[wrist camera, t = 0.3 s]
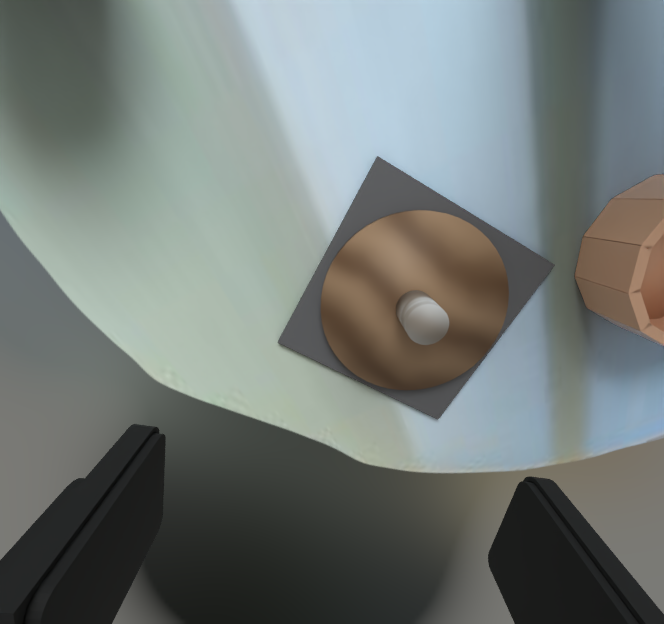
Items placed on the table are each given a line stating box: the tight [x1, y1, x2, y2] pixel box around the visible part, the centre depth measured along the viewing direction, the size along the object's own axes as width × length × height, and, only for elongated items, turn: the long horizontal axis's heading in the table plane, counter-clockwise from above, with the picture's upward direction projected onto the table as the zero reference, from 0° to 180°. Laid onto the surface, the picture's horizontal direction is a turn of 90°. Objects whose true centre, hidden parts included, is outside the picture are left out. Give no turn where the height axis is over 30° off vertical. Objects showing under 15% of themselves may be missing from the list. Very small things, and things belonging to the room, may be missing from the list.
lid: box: [321, 210, 509, 390], centre depth 34 cm, size 20×20×6 cm
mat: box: [278, 156, 555, 419], centre depth 38 cm, size 22×22×1 cm
